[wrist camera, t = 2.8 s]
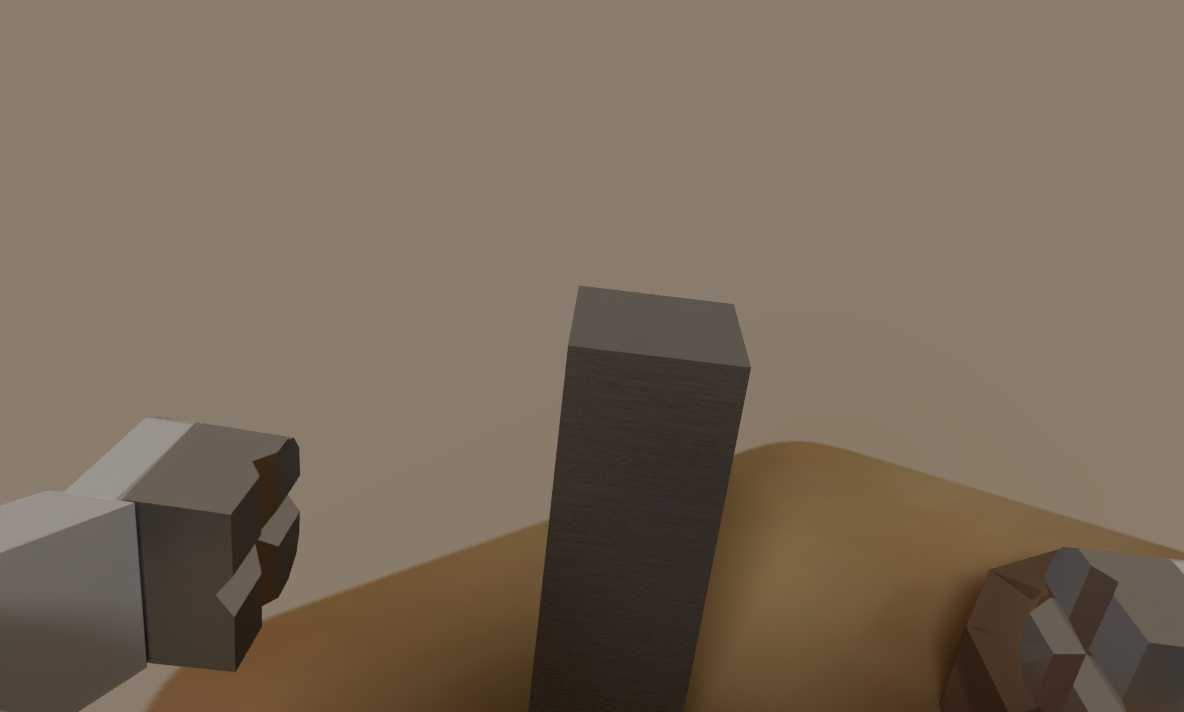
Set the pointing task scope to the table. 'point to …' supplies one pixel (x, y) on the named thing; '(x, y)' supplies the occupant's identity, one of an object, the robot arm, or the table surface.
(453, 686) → the table surface
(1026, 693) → the walnut ring
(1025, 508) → the table surface
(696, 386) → the metal peg
